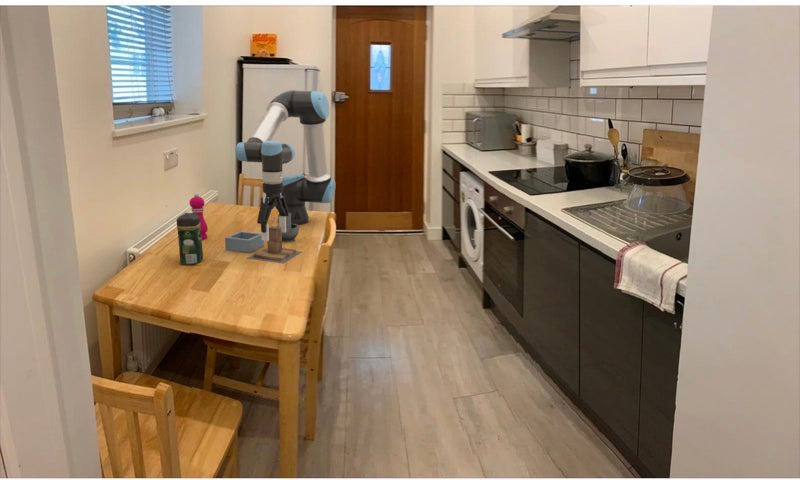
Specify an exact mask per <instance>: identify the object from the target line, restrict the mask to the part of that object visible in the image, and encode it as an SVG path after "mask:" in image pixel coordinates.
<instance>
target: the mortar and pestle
mask: <svg viewBox="0 0 800 480" xmlns="http://www.w3.org/2000/svg"><path fill="white" fill-rule="evenodd" d="M288 214H289V215H288V216H286V233H283V232H282V243H283V242H285V243H286V242H287V243H288V242H289V243H291V242H296V238H298V237H297V236H298V235H299V230H300V225H296V224H291V213H288ZM276 226H277V227H279V224H277V225H276Z"/></svg>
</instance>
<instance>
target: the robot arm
mask: <svg viewBox="0 0 800 480" xmlns="http://www.w3.org/2000/svg"><path fill="white" fill-rule="evenodd" d="M329 116H330V105H329V99H328V97H327V95H326V94H325V92H322V91H318V90H317V91H316V90H295V89H294V90H287V91H283V92H282V93H280V94H278V95H277V96H275V97H274V98H273V99H272V100H271V101H270V102H269V104H268V105H267V107H266V113H265V114H264V116H263V117H262V118H261V120H260V121H259V123H258V125H257V126H256V128H255V129H254V131H253V132H252V134H250V137H249V138H248V139H247V141H243V142H238V143H237V144H236V146H235V157H236V158H237V160H238V161H240V162H247V163H261V165H262V166H261V167H262V168H261V170H262V171H261V175H262V176H261V177H262V179H261V180H262V193H264V194H265V196H264V197H261V198H260V207H259V211H258V216H257V221H256V223H257V224H259V225H260V231H261V232H260V233H261V238H262V240H264V242H265V241H266V242H268V241H269V227H270V226H269V223H268V222H269V219H270V215H271V214H272V210H273V209H276V210H277V212H278V216H277V222H278V225H279V227H281V232H283V233H286V216H288V215H289V214H288V213H291V224H296V225H299V226H301V225H305V224H308V223H309V222H310V217H309V214H308V211H307V208H306V203H316V204H329V203H331V202H332V201H333V199H334V196H335V191H336V180H335V179H333V178H331V177H332V176H331V174H330V173H329V172H328V168H327V158H326V156H327V155H326V146H325V134H324V124H325V123H326V120H327V119H328V118H329ZM288 118H299V123H300V125H302V126H303V131H304V132H303V133H304V141H305V148H306V159H307V167H308V174H307V175H306V176H305V174H303V173H297V174H290V175H285V176H284V174H283V165H284V164H288V163H289V162H291V161H293V159H294V157H295V155H296V154H295V149H294V147H293V146H292V145H290V144H289V143H282V142H281V141H277V140H272V139H273V138H274V136H275V134H276V133H277V130H278V129H279V127H280V126H281V124H282V123H283V122H285V121H287V119H288Z"/></svg>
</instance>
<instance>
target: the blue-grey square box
mask: <svg viewBox="0 0 800 480" xmlns="http://www.w3.org/2000/svg"><path fill="white" fill-rule="evenodd" d="M224 240H225V241H224V243H225V244H224V245H225V251H230V252H237V253H246V254H251V253H253V252H254V251H255V252H256V251H257V250H259V249H261V248H263V247H264V246H265V241H264V240H262V238H261V232H260V233H259V232H251V231H243V230H239V231H237V232H234V233H232V234H230V235H228V236H225V237H224Z"/></svg>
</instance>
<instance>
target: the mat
mask: <svg viewBox="0 0 800 480" xmlns="http://www.w3.org/2000/svg"><path fill="white" fill-rule="evenodd" d="M302 253H303V251H299V250H296V253H294V254H293V255H291V256H289V257H288V258H286V259H284V260H283V261H276V260H268V259H261V258H254V254H252V255H250V256H248V257H246V260H247V259H248V260H255V261H260V262H261V261H263V262H270V263H276V264H277V263H278V264H285V263H287V262H288V261H290V260H291V259H293V258H295V257H297V256H298V255H300V254H302Z"/></svg>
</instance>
